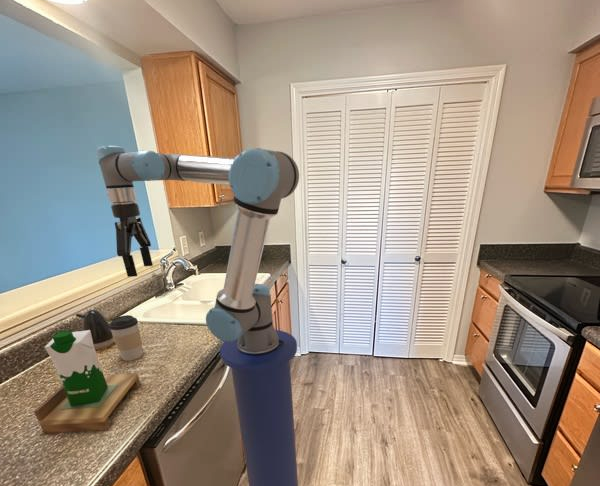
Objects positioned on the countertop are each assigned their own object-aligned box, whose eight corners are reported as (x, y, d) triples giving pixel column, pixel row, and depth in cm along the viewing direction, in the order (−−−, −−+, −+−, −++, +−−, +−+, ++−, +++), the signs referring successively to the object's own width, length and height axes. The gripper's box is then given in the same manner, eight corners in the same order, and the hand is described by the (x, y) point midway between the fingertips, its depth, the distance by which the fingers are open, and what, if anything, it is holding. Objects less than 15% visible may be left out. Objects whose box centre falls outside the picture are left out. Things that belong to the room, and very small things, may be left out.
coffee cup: (121, 352, 120) (110, 315, 114) (147, 347, 123) (137, 311, 117) (116, 364, 112) (104, 324, 107) (144, 359, 115) (134, 320, 109)
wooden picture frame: (140, 384, 100) (135, 364, 98) (106, 429, 82) (98, 407, 79) (89, 386, 100) (82, 367, 97) (43, 433, 82) (33, 411, 79)
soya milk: (65, 409, 84) (36, 340, 76) (79, 389, 92) (54, 325, 84) (102, 403, 85) (77, 335, 77) (112, 384, 93) (91, 321, 85)
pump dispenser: (92, 342, 129) (80, 307, 123) (120, 338, 131) (109, 303, 125) (82, 354, 120) (69, 317, 114) (112, 350, 122) (101, 313, 116)
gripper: (128, 201, 111) (143, 262, 119) (90, 206, 88) (111, 282, 96) (151, 200, 111) (164, 261, 119) (118, 205, 88) (137, 280, 96)
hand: (141, 270), depth 108 cm, fingers open, 13 cm apart
